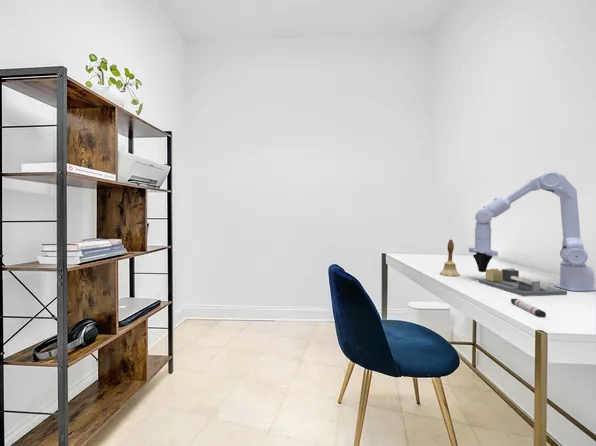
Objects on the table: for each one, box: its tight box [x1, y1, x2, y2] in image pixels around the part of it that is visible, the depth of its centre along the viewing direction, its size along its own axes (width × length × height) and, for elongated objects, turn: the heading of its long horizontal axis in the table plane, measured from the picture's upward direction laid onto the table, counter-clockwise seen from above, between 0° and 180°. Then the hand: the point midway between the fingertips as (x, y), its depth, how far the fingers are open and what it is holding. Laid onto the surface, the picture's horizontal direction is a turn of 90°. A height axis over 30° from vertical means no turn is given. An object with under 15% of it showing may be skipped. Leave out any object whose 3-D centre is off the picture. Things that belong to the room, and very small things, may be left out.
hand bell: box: [439, 239, 461, 277], centre depth 147 cm, size 8×8×16 cm
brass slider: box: [485, 268, 503, 282], centre depth 127 cm, size 4×4×5 cm
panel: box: [478, 277, 568, 297], centre depth 121 cm, size 16×22×5 cm
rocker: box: [511, 276, 548, 290], centre depth 113 cm, size 10×5×1 cm, turn 98°
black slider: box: [501, 267, 520, 281], centre depth 128 cm, size 4×4×5 cm
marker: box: [510, 298, 547, 318], centre depth 94 cm, size 15×2×2 cm, turn 174°
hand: (482, 271), depth 133 cm, fingers closed
